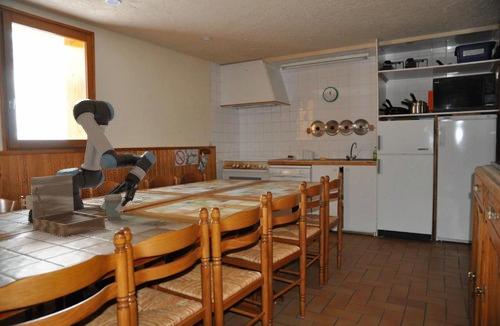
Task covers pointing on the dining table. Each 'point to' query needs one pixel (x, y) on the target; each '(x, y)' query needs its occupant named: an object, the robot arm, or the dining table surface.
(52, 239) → the dining table surface
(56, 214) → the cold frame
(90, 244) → the dining table surface
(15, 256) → the dining table surface
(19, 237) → the dining table surface
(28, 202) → the character mug
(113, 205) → the coffee cup
